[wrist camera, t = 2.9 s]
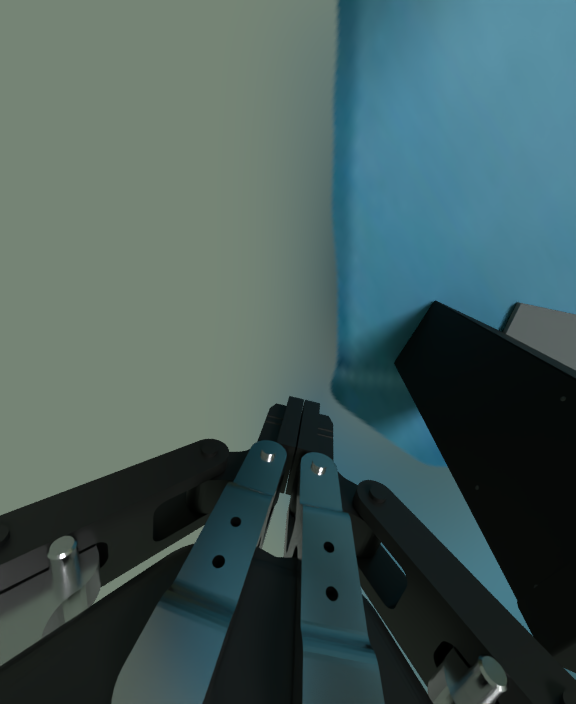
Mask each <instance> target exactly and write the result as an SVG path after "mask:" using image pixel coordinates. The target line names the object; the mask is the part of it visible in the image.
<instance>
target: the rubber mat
mask: <svg viewBox="0 0 576 704" xmlns="http://www.w3.org/2000/svg"><path fill="white" fill-rule="evenodd" d="M503 333H505V334H507V335H509V336H511V337H513V338H515V339H516V340H518V341H520V342H522V343H524V344H526V345H528V346H530V347H532V348H534V349H536V350H538V351H539V352H541V353H543V354H545V355H547V356H549V357H551V358H553V359H555V360H557V361H559V362H561V363H563V364H564V365H566V366H568V367H570V368H572V369H574V370H576V315H575V314H570V313H566V312H561V311H556V310H552V309H547V308H542V307H537V306H533V305H528V304H523V303H519V302H517V304H516V306H515V308H514V310H513V312H512V314H511V316H510V318H509V320H508V322H507V324H506V326H505V328H504V330H503Z"/></svg>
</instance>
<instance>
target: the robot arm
mask: <svg viewBox="0 0 576 704" xmlns="http://www.w3.org/2000/svg"><path fill="white" fill-rule="evenodd" d="M303 402H304V400H303V399H300V398H295V397H291V396H290V397H289V400H288V403H287V406H285V405H281V404H275V405H274V406H272V407H271V408H270V409H269V412H268V415H267V417H266V420H265V423H264V425H263V428H262V431H261V434H260V436H259V439H258V442H257V443H254V444H253V445H252V447H251V449H249V450H247V451H242V452H229V449H228V447H227V446H226V445H225V444H224V443H223V442H221V441H219V440H215V439H204V440H200V441H197V442H195V443H192V444H190V445H187V446H184V447H182V448H179V449H176V450H174V451H171V452H168V453H165V454H163V455H160V456H158V457H155V458H152V459H150V460H147V461H144V462H142V463H139V464H136V465H134V466H131V467H128V468H126V469H123V470H120V471H118V472H115V473H112V474H110V475H107V476H105V477H102V478H99V479H97V480H94V481H91V482H88V483H86V484H83V485H80V486H78V487H75V488H72V489H70V490H67V491H65V492H62V493H59V494H56V495H54V496H51V497H48V498H46V499H43V500H40V501H38V502H35V503H33V504H30V505H27V506H24V507H22V508H19V509H16V510H14V511H11V512H9V513H6V514H3V515H1V516H0V704H576V680H575V679H574V678H573V677H572V676H571V675H570V674H569V673H568V672H567V671H566V670H565V669H564V668H563V667H562V666H561V665H560V664H559V663H558V662H557V661H556V660H555V659H554V658H553V657H552V656H551V655H550V654H549V652H548V651H547V650H546V649H545V648H544V647H543V646H542V645H541V644H540V643H539V642H538V641H537V640H536V639H535V638H534V637H533V636H532V635H531V634H530V633H529V632H528V631H527V630H526V629H525V628H524V627H523V626H522V625H521V624H520V623H519V622H518V621H517V620H516V619H515V618H514V617H513V616H512V615H511V614H510V612H508V610H507V609H505V607H504V606H503V605H502V604H501V603H500V602H499V601H498V600H497V599H496V598H495V597H494V596H493V595H492V594H491V593H490V592H489V591H488V590H487V589H486V588H485V587H484V586H483V585H482V584H481V583H480V582H479V581H478V580H477V579H476V578H475V577H474V576H473V575H472V574H471V573H470V571H469V570H468V569H467V568H466V567H465V566H464V565H463V564H462V563H461V562H460V561H459V560H458V559H457V558H456V557H455V556H454V555H453V554H452V553H451V552H450V551H449V550H448V549H447V548H446V547H445V546H444V545H443V544H442V543H441V542H440V541H439V540H438V539H437V538H436V537H435V536H434V535H433V534H432V533H431V532H430V531H429V529H427V527H426V526H425V525H424V524H423V523H422V522H421V521H420V520H419V519H418V518H417V517H416V516H415V515H414V514H413V513H412V512H411V511H410V510H409V509H408V508H407V507H406V506H405V505H404V504H403V503H402V502H401V501H400V500H399V499H398V498H397V497H396V496H395V495H394V494H393V493H392V492H391V491H390V490H389V489H388V488H387V487H386V486H385V485H383V484H381V483H379V482H376V481H372V480H365V481H362V482H360V483H359V485H356V484H354V483H353V482H351V481H349V480H347V479H345V478H344V477H343V476H342V475H341V474H340V473H339V472H338V471H337V466H336V464H335V463H334V461H333V423H332V422H331V419H330V418H329V416H326V415H322V414H319V409H320V403H316V402H312V401H308V400H305V402H304V406H303ZM302 408H303V410H302ZM289 471H290V472H289ZM288 475H289V478H288ZM287 479H288V483H287ZM286 483H287V489H286V494H288V495H291V498H290V504H289V507H288V511H287V519H286V533H285V545H284V557H274V556H273V555H271V554H269V553H268V552H266V551H264V550H262V546H263V543H264V540H265V537H266V533H267V530H268V527H269V523H270V520H271V517H272V514H273V511H274V506H275V505H276V503H277V501H278V498H279V493H284V491H285V487H286ZM203 525H204V527H203V529H202V531H201V533H200V535H199V537H198V538H197V540H196V542H195V544H191V545H188V546H185V547H182V548H180V549H178V550H176V551H174V552H172V553H170V554H169V555H167V556H166V557H164V558H163V559H161V560H160V561H158V562H157V563H155V564H154V565H152V566H151V567H149V568H148V569H146V570H145V571H143V572H142V573H140V574H139V575H137V576H136V577H134V578H132V579H131V580H129V581H128V582H127V583H125V584H123V585H122V586H120V587H119V588H117V589H116V590H115V591H113V592H112V593H110V594H108V595H107V596H105V597H104V598H102V599H101V600H99V601H98V602H96V603H95V604H93V603H94V601H95V600H96V598H97V596H98V594H99V591H100V587H102V586H104V585H105V584H107V583H109V582H110V581H112V580H114V579H115V578H117V577H119V576H120V575H122V574H124V573H125V572H127V571H129V570H130V569H132V568H134V567H135V566H137V565H139V564H140V563H142V562H143V561H145V560H147V559H149V558H150V557H152V556H153V555H155V554H157V553H159V552H160V551H162V550H164V549H165V548H167V547H169V546H170V545H172V544H174V543H175V542H177V541H179V540H180V539H182V538H183V537H185V536H187V535H189V534H190V533H192V532H193V531H195V530H197V529H198V528H200V527H202V526H203ZM381 542H382V544H383V545H384V546H385V547H386V549H387V550H388V551H389V552H390V553H391V555H392V556H393V557H394V558H395V560H396V561H397V562H398V563H399V565H400V566H401V567H402V569H403V570H404V572H405V574H406V576H405V574H404V573H403V572H402V571H401V570H400V568H399V567H398V566H397V564H396V563H395V562H394V561H393V559H392V558H391V557H390V556H389V554H388V553H387V552H386V551H385V549H384V548H383V547H382V546H381V544H380V543H381ZM361 587H362V589H363V590H364V592H365V593H366V595H367V596H368V598H369V600H370V601H371V602H372V604H373V605H374V607H375V609H376V610H377V612H378V613H379V615H380V616H381V618H382V619H383V621H384V622H385V624H386V625H387V627H388V628H389V630H390V631H391V633H392V634H393V636H394V637H395V639H396V640H397V642H398V644H399V645H400V647H401V648H402V650H403V651H404V653H405V654H406V655H407V657H408V659H409V660H410V662H411V663H412V665H413V666H414V668H415V669H416V671H417V672H418V674H419V675H420V677H421V678H422V680H423V681H424V683H425V684H426V686H427V687H428V694H427V692H426V691H425V689H424V688H423V686H422V684H421V683H420V681H419V680H418V678H417V677H416V675H415V674H414V672H413V670H412V668H411V667H410V665H409V664H408V662H407V660H406V659H405V657H404V655H403V654H402V652H401V651H400V649H399V647H398V646H397V644H396V643H395V641H394V639H393V638H392V636H391V635H390V633H389V632H388V630H387V628H386V627H385V625H384V623H383V622H382V620H381V619H380V617H379V616H378V614H377V612H376V611H375V609H374V608H373V607H372V605H371V604H370V603H369V601H368V600H367V599H366V598H365V597H364V596H363V595H362V592H361ZM92 604H93V605H92Z"/></svg>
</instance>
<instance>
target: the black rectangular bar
mask: <svg viewBox="0 0 576 704" xmlns="http://www.w3.org/2000/svg"><path fill="white" fill-rule="evenodd" d="M394 364H395V366H396V368H397V370H398V372H399V374H400V375H401V377H402V379H403V381H404V383H405V385H406V387H407V389H408V391H409V393H410V395H411V397H412V399H413V400H414V402H415V404H416V406H417V408H418V410H419V412H420V414H421V416H422V418H423V420H424V422H425V424H426V426H427V427H428V429H429V431H430V433H431V435H432V437H433V439H434V441H435V443H436V445H437V447H438V449H439V451H440V452H441V454H442V456H443V458H444V460H445V462H446V464H447V466H448V468H449V470H450V472H451V474H452V476H453V477H454V479H455V481H456V483H457V485H458V487H459V489H460V491H461V493H462V495H463V497H464V499H465V501H466V502H467V504H468V506H469V508H470V510H471V512H472V514H473V516H474V518H475V520H476V522H477V524H478V525H479V528H480V529H481V531H482V533H483V535H484V537H485V539H486V541H487V543H488V545H489V547H490V549H491V551H492V553H493V554H494V556H495V558H496V560H497V562H498V564H499V566H500V568H501V570H502V572H503V573H504V575H505V577H506V579H507V581H508V583H509V585H510V587H511V589H512V591H513V593H514V595H515V597H516V599H517V604H518V608H519V610H520V611H521V613H522V615H523V617H524V619H525V621H526V623H527V625H528V627H529V629H530V631H531V633H532V635H533V637H534V638H535V639H536V640H537V641H538V642H539V643H540V644H541V645H542V646H543V647H544V648H545V649H546V650H547V651H548V652H549V654H550V655H551V656H552V657H553V658H554V659H555V660H556V661H557V662H558V663H559V664H560V665H561V666H562V667H563V668H565V669H568V670H570V671H572V672H575V673H576V370H574V369H572V368H570V367H568V366H566V365H564V364H563V363H561V362H559V361H557V360H555V359H553V358H551V357H549V356H547V355H545V354H543V353H541V352H539V351H538V350H536V349H534V348H532V347H530V346H528V345H526V344H524V343H522V342H520V341H518V340H516V339H515V338H513V337H511V336H509V335H507V334H505V333H503V332H501V331H499V330H497V329H495V328H493V327H490V326H488V325H486V324H484V323H482V322H480V321H478V320H476V319H474V318H471V317H469V316H467V315H465V314H463V313H461V312H459V311H457V310H455V309H452V308H450V307H448V306H446V305H444V304H442V303H440V302H438V301H434V302H433V304H432V305H431V307H430V308H429V310H428V312H427V313H426V315H425V316H424V318H423V319H422V321H421V322H420V324H419V325H418V327H417V329H416V330H415V332H414V333H413V335H412V336H411V338H410V339H409V341H408V342H407V344H406V345H405V347H404V349H403V350H402V352H401V353H400V355H399V356H398V358H397V359H396V361H395V362H394Z"/></svg>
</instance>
